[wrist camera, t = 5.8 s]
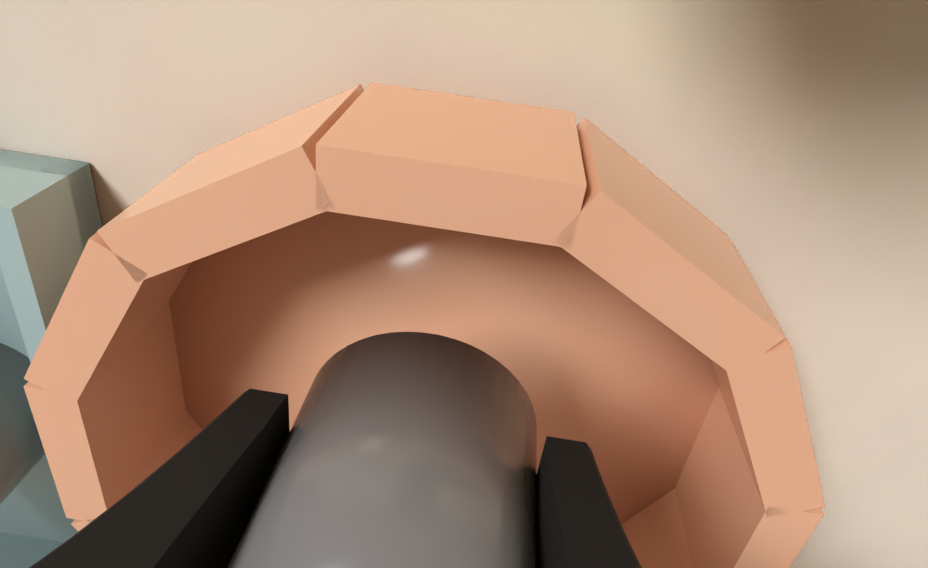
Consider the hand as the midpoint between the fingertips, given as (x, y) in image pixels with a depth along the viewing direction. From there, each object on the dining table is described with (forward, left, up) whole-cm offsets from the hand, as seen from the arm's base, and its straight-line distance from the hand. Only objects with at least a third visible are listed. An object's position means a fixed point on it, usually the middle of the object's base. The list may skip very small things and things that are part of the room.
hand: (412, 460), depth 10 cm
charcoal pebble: (0, 0, -1) cm, 1 cm away
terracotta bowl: (+3, 0, -6) cm, 7 cm away
